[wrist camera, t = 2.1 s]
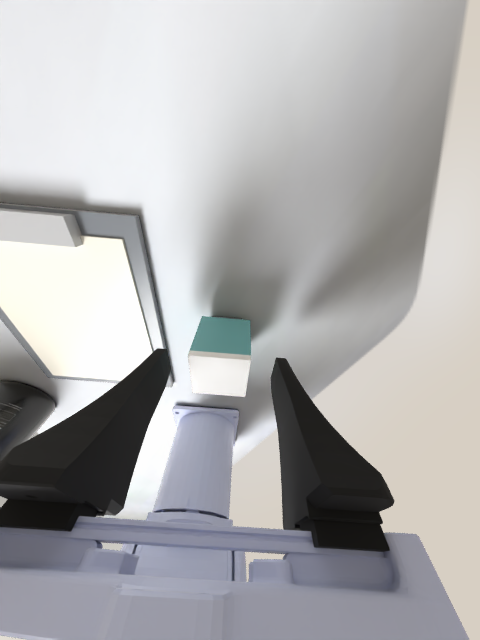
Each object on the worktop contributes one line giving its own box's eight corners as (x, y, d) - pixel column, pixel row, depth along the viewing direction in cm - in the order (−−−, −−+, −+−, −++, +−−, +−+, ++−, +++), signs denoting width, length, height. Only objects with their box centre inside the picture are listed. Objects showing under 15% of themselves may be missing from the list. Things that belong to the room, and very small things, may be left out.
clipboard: (173, 383, 20) (169, 393, 19) (52, 373, 20) (41, 384, 19) (138, 215, 11) (127, 218, 10) (-87, 194, 11) (-123, 195, 10)
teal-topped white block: (245, 346, 17) (245, 396, 13) (206, 343, 17) (192, 392, 13) (250, 313, 15) (251, 360, 11) (204, 309, 15) (188, 355, 11)
